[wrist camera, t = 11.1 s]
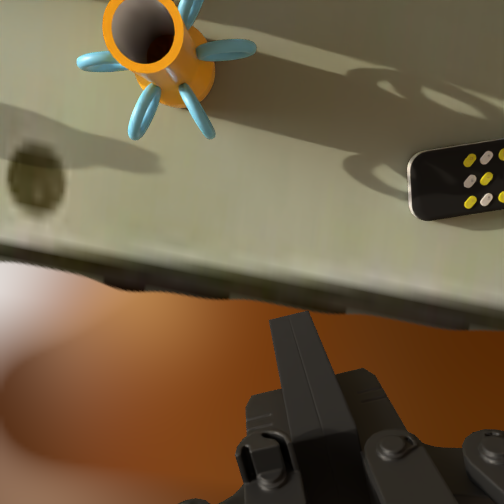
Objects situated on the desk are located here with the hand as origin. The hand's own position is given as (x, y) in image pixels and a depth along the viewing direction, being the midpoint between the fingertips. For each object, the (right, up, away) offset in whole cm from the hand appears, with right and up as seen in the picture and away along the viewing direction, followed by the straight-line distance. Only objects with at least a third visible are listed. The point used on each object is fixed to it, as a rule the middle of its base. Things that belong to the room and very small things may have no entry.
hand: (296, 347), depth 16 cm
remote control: (+19, +10, +23) cm, 32 cm away
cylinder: (-8, +19, +20) cm, 28 cm away
